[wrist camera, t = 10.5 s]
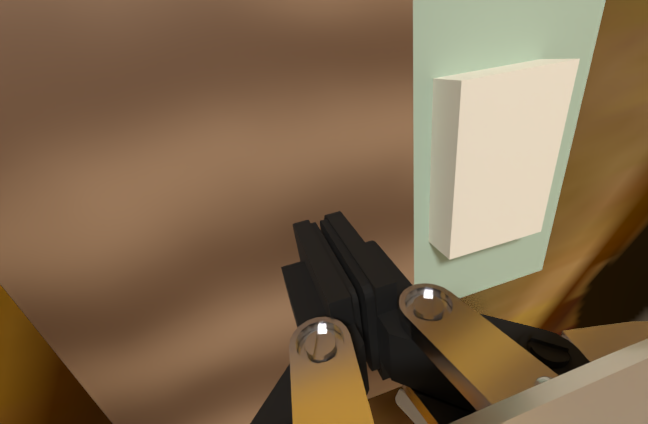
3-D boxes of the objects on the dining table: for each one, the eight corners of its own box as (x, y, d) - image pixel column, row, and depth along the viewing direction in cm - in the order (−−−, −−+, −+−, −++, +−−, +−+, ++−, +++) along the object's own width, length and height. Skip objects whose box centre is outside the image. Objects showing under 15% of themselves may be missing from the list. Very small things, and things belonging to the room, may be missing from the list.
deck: (-123, -72, 9) (-360, -163, 5) (353, -103, 11) (412, -178, 8) (170, 402, 19) (158, 480, 15) (383, 329, 21) (414, 381, 18)
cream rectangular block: (579, 58, 14) (540, 58, 15) (461, 80, 13) (432, 78, 14) (540, 231, 18) (513, 216, 20) (449, 259, 17) (428, 241, 18)
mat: (368, -68, 12) (373, -72, 11) (617, -90, 14) (627, -94, 14) (389, 316, 21) (392, 320, 21) (537, 266, 23) (542, 270, 23)
